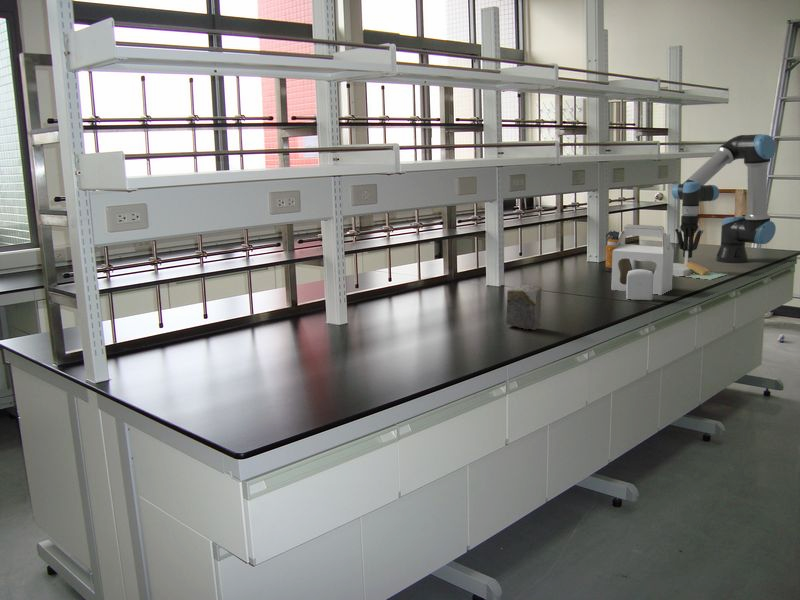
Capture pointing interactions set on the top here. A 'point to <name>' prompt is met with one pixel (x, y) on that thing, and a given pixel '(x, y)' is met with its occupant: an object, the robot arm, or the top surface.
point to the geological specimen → (524, 306)
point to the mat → (707, 275)
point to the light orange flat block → (697, 268)
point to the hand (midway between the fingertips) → (687, 264)
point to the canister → (610, 248)
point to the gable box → (643, 258)
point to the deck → (681, 270)
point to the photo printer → (639, 285)
